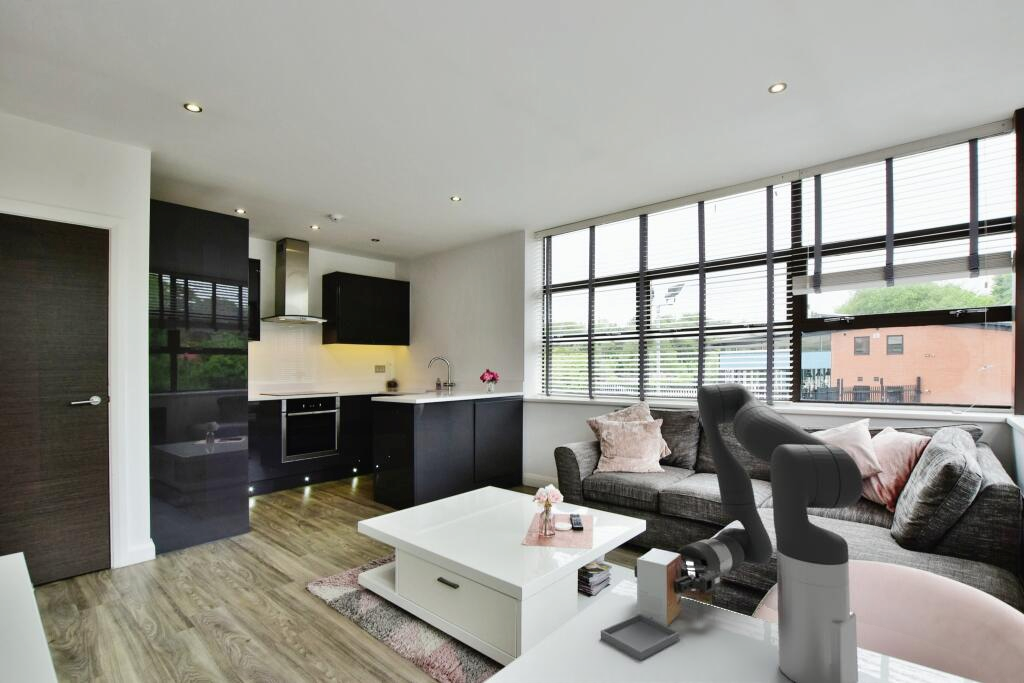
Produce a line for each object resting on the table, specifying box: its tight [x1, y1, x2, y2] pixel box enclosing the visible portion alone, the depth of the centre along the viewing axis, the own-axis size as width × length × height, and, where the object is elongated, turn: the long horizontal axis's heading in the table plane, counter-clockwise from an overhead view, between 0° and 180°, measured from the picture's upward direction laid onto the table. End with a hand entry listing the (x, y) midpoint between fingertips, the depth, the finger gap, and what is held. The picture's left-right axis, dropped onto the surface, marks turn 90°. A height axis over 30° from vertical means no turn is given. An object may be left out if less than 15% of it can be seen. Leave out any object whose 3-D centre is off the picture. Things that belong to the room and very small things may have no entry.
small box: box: [636, 547, 682, 627], centre depth 92 cm, size 8×6×10 cm
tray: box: [600, 614, 680, 661], centre depth 83 cm, size 8×10×1 cm
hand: (655, 579), depth 91 cm, fingers open, 8 cm apart
